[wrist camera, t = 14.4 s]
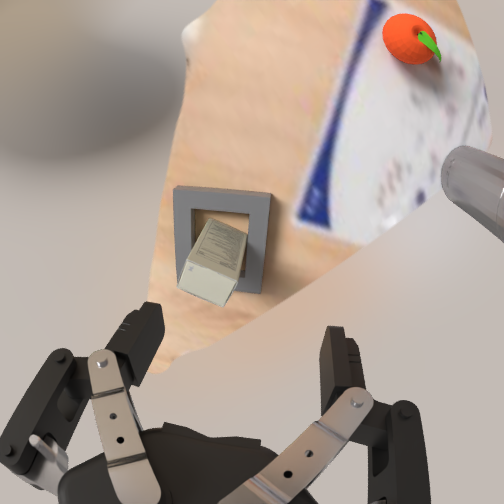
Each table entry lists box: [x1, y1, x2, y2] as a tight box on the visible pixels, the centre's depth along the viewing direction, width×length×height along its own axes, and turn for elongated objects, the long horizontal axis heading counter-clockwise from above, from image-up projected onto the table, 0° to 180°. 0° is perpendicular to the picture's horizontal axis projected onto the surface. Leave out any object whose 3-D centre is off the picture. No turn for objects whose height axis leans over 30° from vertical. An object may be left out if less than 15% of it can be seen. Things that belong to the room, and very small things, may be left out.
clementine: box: [382, 14, 441, 64], centre depth 24 cm, size 8×7×7 cm
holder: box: [173, 186, 271, 294], centre depth 42 cm, size 13×15×2 cm
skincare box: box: [177, 218, 248, 307], centre depth 38 cm, size 6×4×12 cm
